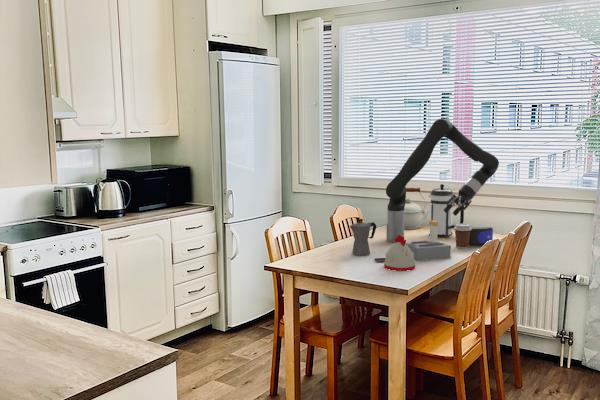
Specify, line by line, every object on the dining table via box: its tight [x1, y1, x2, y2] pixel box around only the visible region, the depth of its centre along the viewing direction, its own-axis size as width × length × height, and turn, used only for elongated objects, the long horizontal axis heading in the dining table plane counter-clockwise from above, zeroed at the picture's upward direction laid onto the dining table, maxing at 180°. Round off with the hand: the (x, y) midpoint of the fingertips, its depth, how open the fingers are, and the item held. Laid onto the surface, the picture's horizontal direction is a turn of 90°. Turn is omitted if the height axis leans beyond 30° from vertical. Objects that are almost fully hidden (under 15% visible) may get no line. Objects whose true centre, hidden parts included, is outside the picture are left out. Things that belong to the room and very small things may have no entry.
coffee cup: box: [453, 223, 473, 250], centre depth 301 cm, size 9×9×12 cm
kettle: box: [404, 187, 431, 230], centre depth 356 cm, size 25×18×25 cm
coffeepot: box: [349, 218, 377, 257], centre depth 288 cm, size 15×9×18 cm, turn 115°
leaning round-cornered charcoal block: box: [469, 226, 494, 247], centre depth 305 cm, size 16×5×9 cm, turn 96°
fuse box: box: [405, 240, 452, 262], centre depth 283 cm, size 18×14×7 cm
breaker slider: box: [426, 220, 441, 244], centre depth 283 cm, size 4×6×11 cm
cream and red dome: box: [383, 235, 416, 272], centre depth 262 cm, size 14×14×15 cm
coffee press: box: [428, 184, 465, 239], centre depth 329 cm, size 17×16×30 cm
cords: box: [374, 257, 386, 263], centre depth 275 cm, size 17×4×1 cm, turn 99°
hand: (449, 213), depth 284 cm, fingers open, 8 cm apart
